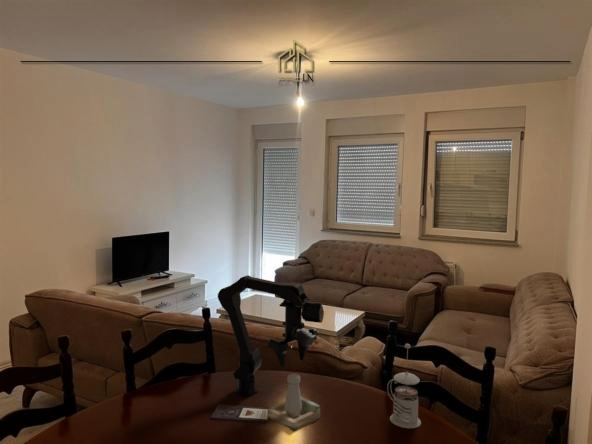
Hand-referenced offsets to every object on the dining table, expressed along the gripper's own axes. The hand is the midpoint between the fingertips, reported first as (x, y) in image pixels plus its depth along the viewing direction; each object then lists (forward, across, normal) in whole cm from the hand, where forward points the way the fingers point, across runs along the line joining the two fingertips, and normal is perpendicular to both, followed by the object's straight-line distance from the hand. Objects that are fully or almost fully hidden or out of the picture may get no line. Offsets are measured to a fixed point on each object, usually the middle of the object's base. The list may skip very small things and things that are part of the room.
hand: (292, 363), depth 150 cm
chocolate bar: (+14, -19, +4) cm, 24 cm away
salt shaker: (+12, -8, -9) cm, 17 cm away
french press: (+13, +17, -34) cm, 40 cm away
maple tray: (+13, -8, -9) cm, 18 cm away
